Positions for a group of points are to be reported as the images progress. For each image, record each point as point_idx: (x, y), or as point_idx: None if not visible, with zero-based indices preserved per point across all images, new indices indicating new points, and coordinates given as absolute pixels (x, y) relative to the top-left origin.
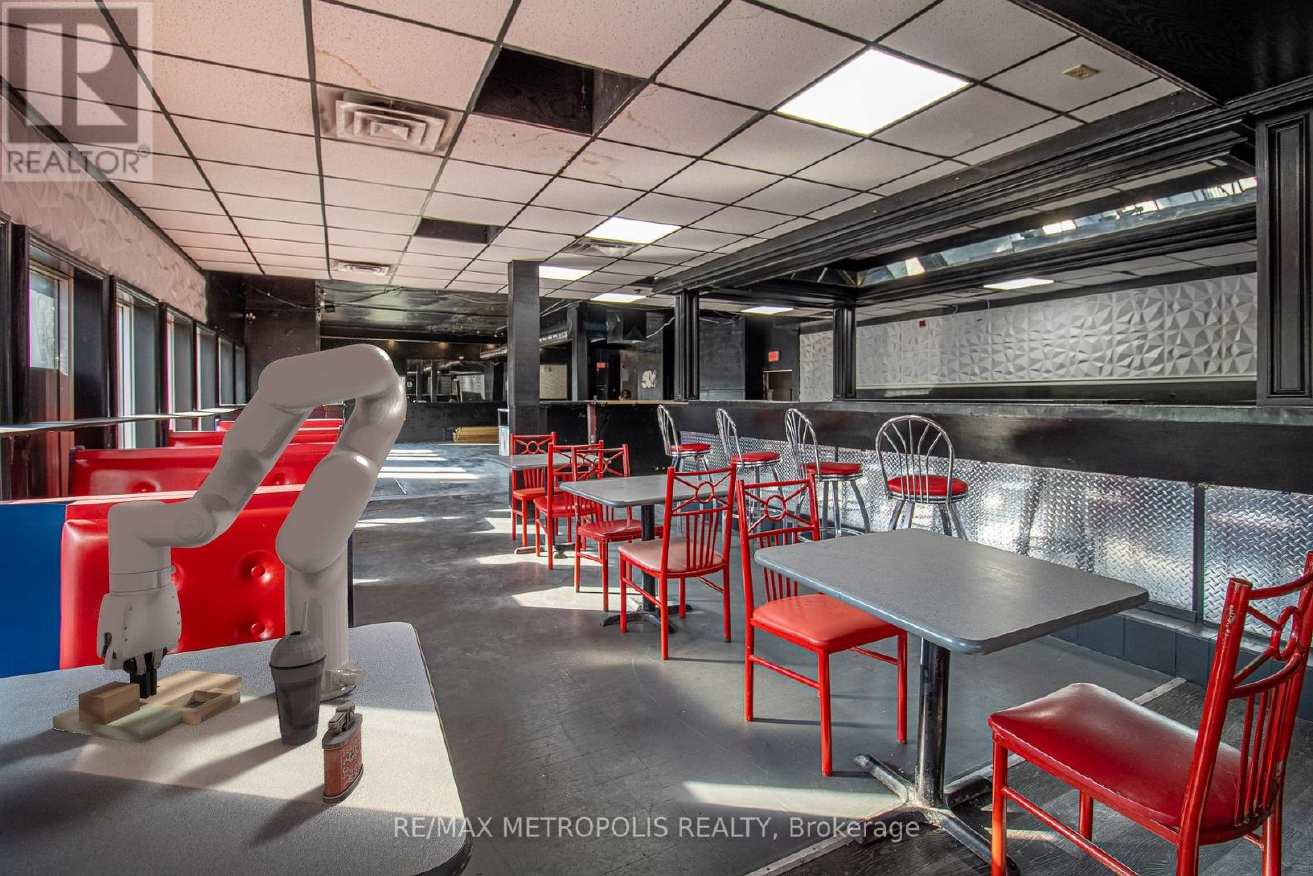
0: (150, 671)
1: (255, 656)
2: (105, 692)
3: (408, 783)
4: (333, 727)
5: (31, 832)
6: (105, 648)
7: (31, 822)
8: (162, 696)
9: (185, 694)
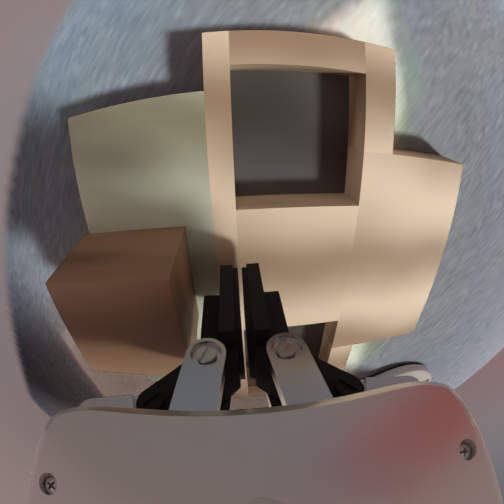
0: (254, 377)
1: None
2: (103, 346)
3: None
4: None
5: (36, 388)
6: (78, 449)
7: (34, 379)
8: (288, 286)
9: (311, 323)
